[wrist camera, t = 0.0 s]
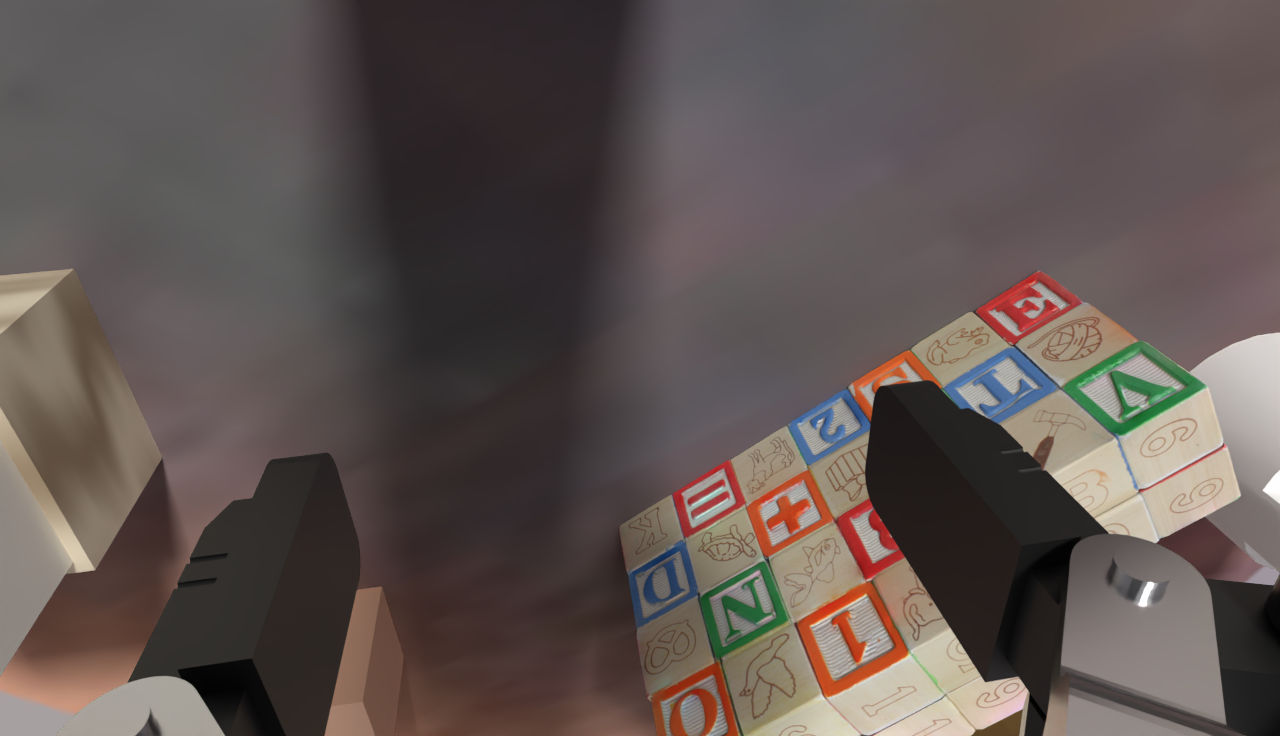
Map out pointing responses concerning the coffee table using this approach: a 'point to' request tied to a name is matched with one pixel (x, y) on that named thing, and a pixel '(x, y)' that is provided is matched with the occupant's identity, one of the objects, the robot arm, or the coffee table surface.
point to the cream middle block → (24, 559)
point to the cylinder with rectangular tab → (1249, 441)
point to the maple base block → (69, 413)
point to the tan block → (368, 671)
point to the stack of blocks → (866, 552)
